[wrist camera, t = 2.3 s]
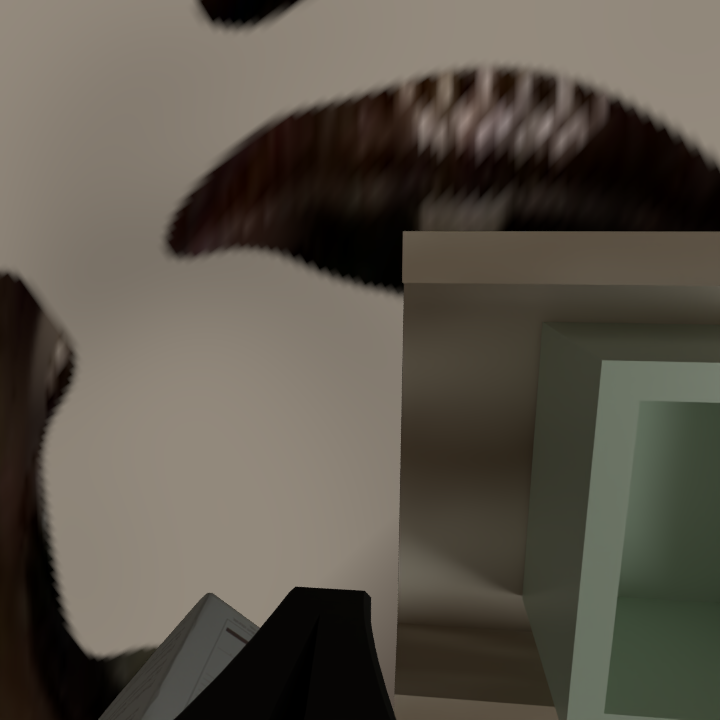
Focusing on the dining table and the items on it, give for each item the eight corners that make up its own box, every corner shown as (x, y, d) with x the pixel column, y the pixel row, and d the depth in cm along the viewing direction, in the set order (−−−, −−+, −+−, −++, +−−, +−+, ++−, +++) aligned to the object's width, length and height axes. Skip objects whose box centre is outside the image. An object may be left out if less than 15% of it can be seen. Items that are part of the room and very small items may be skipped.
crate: (786, 614, 17) (942, 771, 12) (522, 598, 18) (564, 739, 13) (841, 326, 15) (1053, 370, 10) (542, 321, 16) (602, 360, 11)
